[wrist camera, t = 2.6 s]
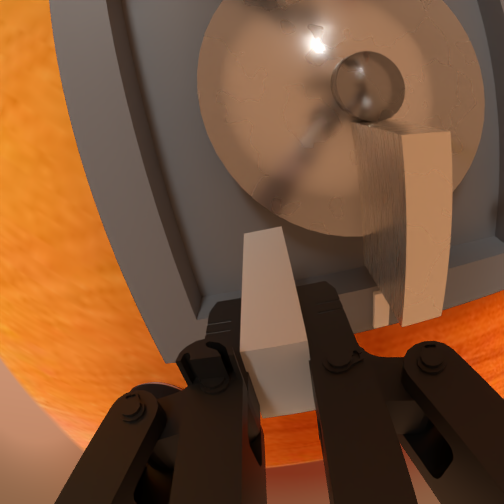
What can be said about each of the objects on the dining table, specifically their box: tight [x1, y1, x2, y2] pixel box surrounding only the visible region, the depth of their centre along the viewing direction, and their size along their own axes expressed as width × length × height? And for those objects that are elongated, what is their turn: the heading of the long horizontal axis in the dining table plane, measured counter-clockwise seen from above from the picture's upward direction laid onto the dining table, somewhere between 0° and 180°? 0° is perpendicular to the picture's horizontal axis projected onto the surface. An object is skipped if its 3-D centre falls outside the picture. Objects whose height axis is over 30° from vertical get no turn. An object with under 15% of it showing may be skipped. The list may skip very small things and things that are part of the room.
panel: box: [49, 0, 504, 363], centre depth 13 cm, size 26×26×4 cm
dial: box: [197, 0, 485, 327], centre depth 11 cm, size 16×14×7 cm
